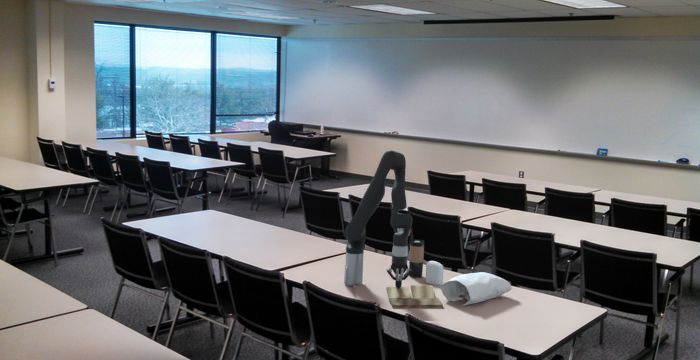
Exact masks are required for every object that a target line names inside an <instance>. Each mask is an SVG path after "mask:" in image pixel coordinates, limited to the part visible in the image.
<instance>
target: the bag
mask: <svg viewBox="0 0 700 360" xmlns="http://www.w3.org/2000/svg"><path fill="white" fill-rule="evenodd" d="M511 285H512V284H511V283H510V282H508V281H507V280H506V279H504V278H502V277H500V276H497V275H495V274H492V273H488V272H486V271H485V272H483V271H482V272H481V271H480V272H471V273H463V274H460V275H457V276H455V277H451V278H450V279H449V280H447V281H445V282H443V284H442V285H439V289H440V290H441V292H442V295H443V296H444V298H445V299H446V300H447V301H448V302H449V303H451V301H452V302H457V301H462V300H464V299H466V301H467V302H466V303H463V304H461V305H460V307H462V306H463V307H464V306H468V305H474V304H478V303H482V302H484V301H485V302H486V301H488V300H491V299H495V298H498V297H500V296H502V295H504V294H506V293H508V292H510V291H511V290H512V289H513V288H512V286H511Z"/></svg>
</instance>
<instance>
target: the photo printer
mask: <svg viewBox="0 0 700 360" xmlns="http://www.w3.org/2000/svg"><path fill="white" fill-rule="evenodd" d="M425 283H427V284H428V285H433V286H441V285H442V284H443V283H444V265H443V264H441V263H440V262H438V261H435V260H428V261H426V265H425Z"/></svg>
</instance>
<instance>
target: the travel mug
mask: <svg viewBox="0 0 700 360" xmlns="http://www.w3.org/2000/svg"><path fill="white" fill-rule="evenodd" d="M409 243H410V244H409V259H408V261H409V262H408V263H409V265H408V268H409V269H411V270H412V272H411V274H410V275H409V276H408V277H410V278H413V279H420V278H422V277H423V268H424V257H425V256H424V255H425V254H424V253H425V241H424V240H423V239H420V238H419V239H417V238H414V239H410V241H409Z"/></svg>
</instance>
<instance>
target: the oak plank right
mask: <svg viewBox="0 0 700 360" xmlns="http://www.w3.org/2000/svg"><path fill="white" fill-rule="evenodd" d="M410 293H411V297H412V298H437V296H436V292H435V289H434V285H432V284H428V285H420V284H419V285H417V284H415V285H413V284H411V285H410Z"/></svg>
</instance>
